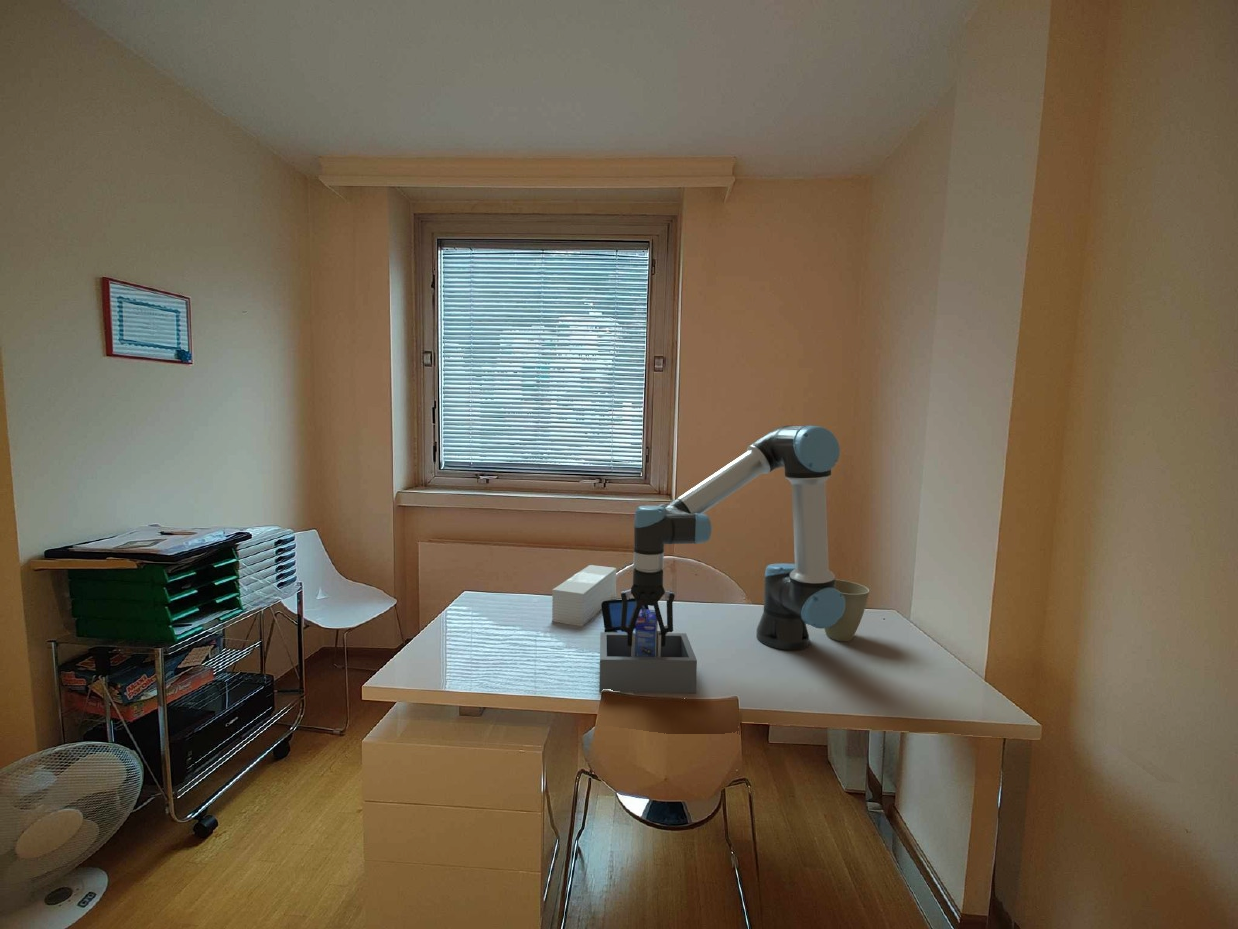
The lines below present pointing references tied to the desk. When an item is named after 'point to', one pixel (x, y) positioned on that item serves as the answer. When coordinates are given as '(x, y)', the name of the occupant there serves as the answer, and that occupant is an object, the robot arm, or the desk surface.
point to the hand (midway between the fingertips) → (645, 657)
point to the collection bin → (647, 666)
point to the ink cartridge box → (646, 633)
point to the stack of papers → (583, 595)
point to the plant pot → (849, 610)
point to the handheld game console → (616, 614)
